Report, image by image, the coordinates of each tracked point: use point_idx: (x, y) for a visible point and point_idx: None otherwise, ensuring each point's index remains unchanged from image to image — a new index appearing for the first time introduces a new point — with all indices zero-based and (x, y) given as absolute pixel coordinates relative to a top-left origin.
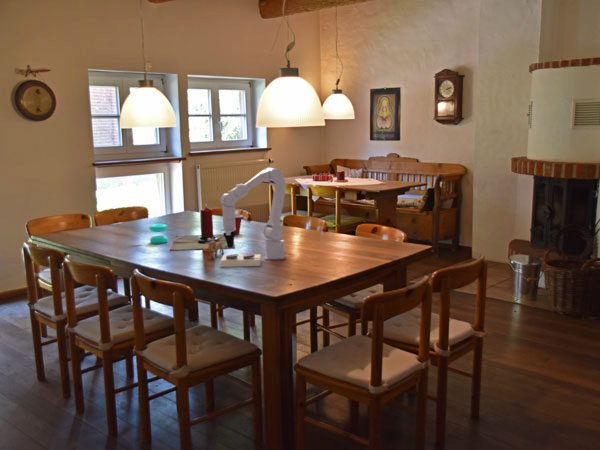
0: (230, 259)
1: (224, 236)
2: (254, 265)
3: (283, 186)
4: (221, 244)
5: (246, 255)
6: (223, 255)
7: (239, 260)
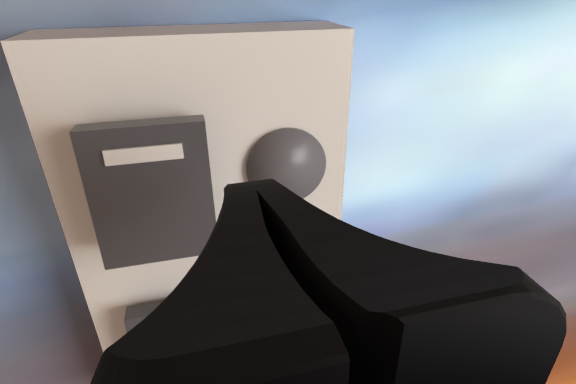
0: None
1: (130, 331)
2: None
3: None
4: None
5: None
6: (331, 35)
7: (79, 272)
